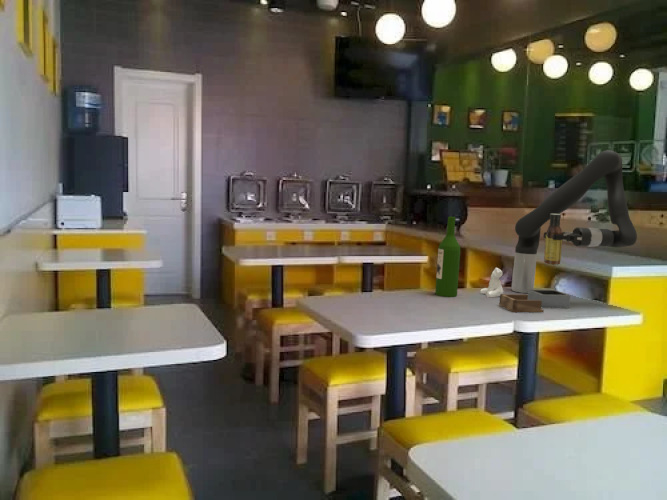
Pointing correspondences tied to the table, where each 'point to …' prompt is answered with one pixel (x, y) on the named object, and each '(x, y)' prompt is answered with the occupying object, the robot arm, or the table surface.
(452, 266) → the wine bottle
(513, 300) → the tray
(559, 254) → the sauce bottle
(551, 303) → the grey open box
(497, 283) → the white creature statuette
